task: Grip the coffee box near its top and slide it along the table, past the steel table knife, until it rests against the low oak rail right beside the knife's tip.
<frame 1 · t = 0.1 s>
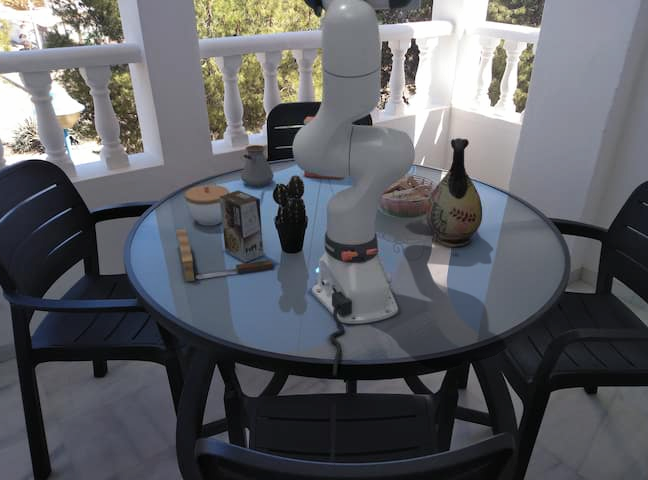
hand: (383, 21, 151), 54 cm above the table, tool tilted 30°, fingers open, 8 cm apart
coffee pot: (254, 188, 186), on the table
cracker box: (324, 176, 198), on the table
oak rail: (187, 263, 138), on the table
lidded bowl: (210, 221, 162), on the table
table knife: (235, 272, 135), on the table
coffee box: (244, 254, 144), on the table
ceramic jug: (450, 241, 153), on the table
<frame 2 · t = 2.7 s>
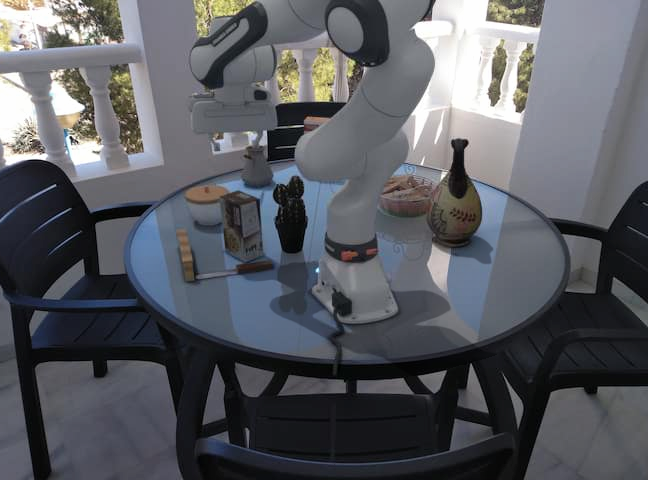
hand: (236, 149, 132), 28 cm above the table, tool pointing down, fingers open, 8 cm apart
nothing on the table moved.
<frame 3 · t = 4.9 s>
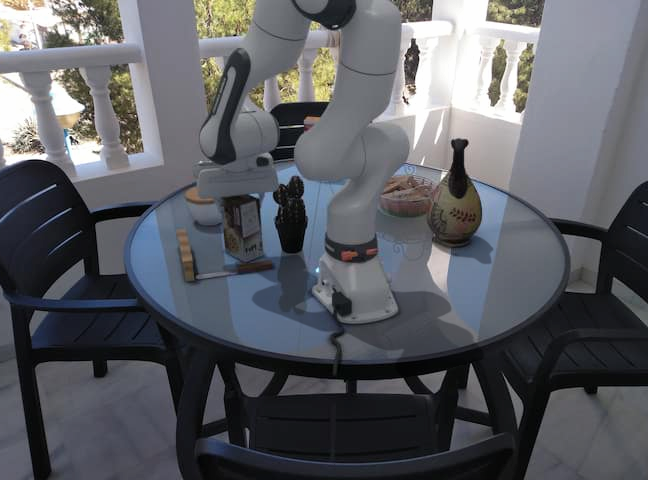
hand: (239, 210, 138), 12 cm above the table, tool pointing down
coffee box: (244, 254, 144), on the table, touching gripper
everything else where it was.
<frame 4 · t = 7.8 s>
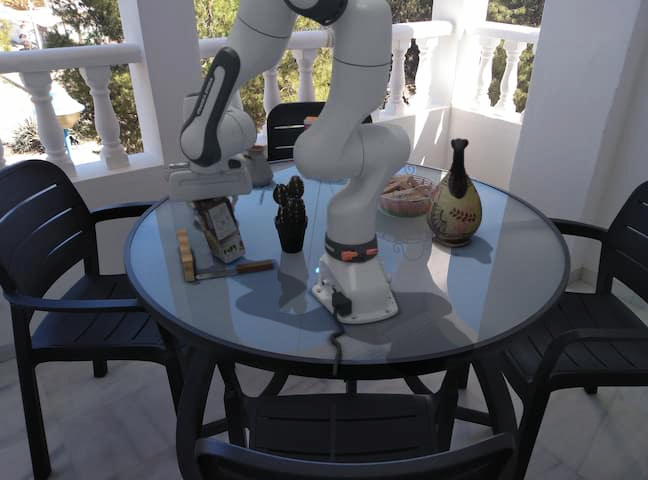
hand: (213, 213, 136), 13 cm above the table, tool pointing down, fingers closed on coffee box, 8 cm apart
coffee box: (228, 253, 142), point 1 cm above the table, touching gripper
everything else where it was.
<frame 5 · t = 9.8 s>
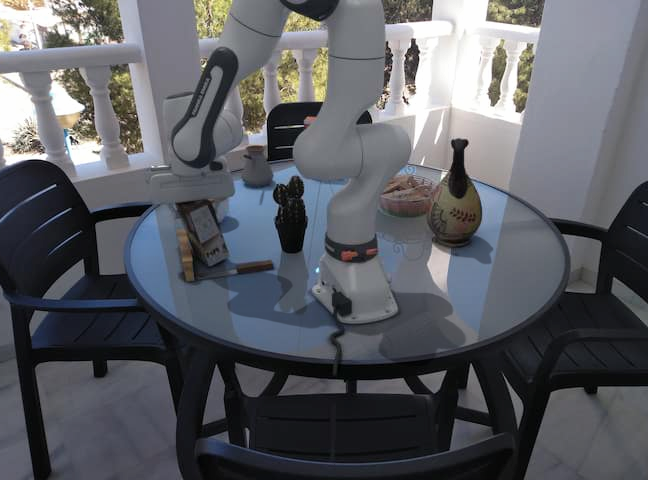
hand: (196, 216, 134), 12 cm above the table, tool pointing down, fingers closed on coffee box, 8 cm apart
coffee box: (212, 256, 141), point 1 cm above the table, touching gripper, oak rail
everything else where it was.
when the fingers open (12 cm above the table, at t = 10.6 s): coffee box stays where it is, on the table.
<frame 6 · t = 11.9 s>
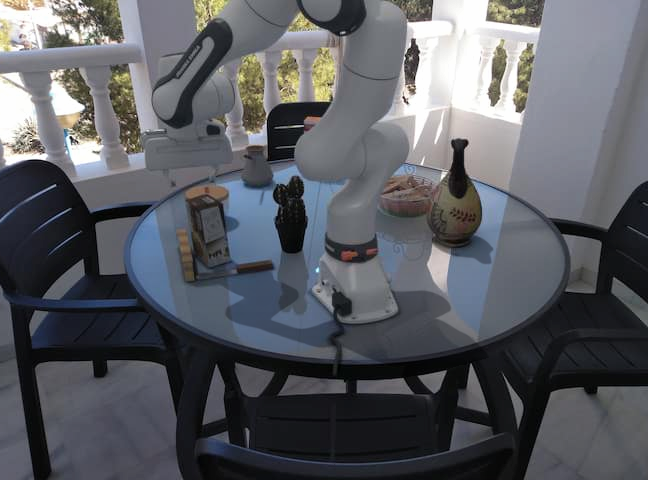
hand: (193, 184, 130), 21 cm above the table, tool pointing down, fingers open, 8 cm apart
coffee box: (212, 258, 141), on the table
everything else where it was.
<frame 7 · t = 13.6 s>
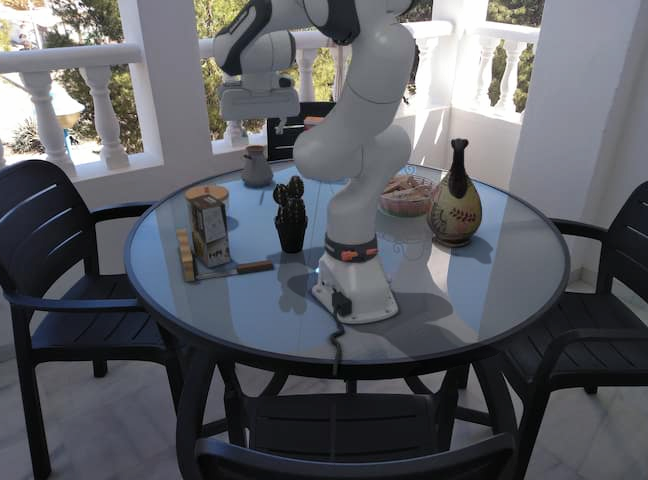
hand: (261, 135, 139), 29 cm above the table, tool pointing down, fingers open, 8 cm apart
nothing on the table moved.
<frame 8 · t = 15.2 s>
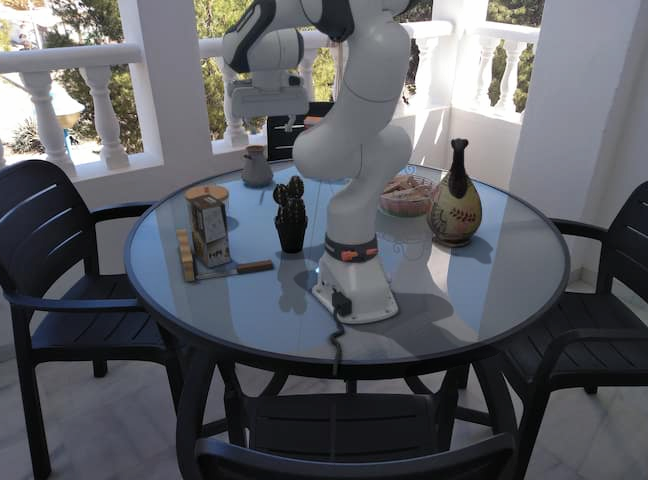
hand: (271, 132, 141), 29 cm above the table, tool pointing down, fingers open, 8 cm apart
nothing on the table moved.
at the end: coffee box inside the target area (0.4 cm from its centre), on the table; coffee box moved 8.4 cm from its start; coffee box tilted 0° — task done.
